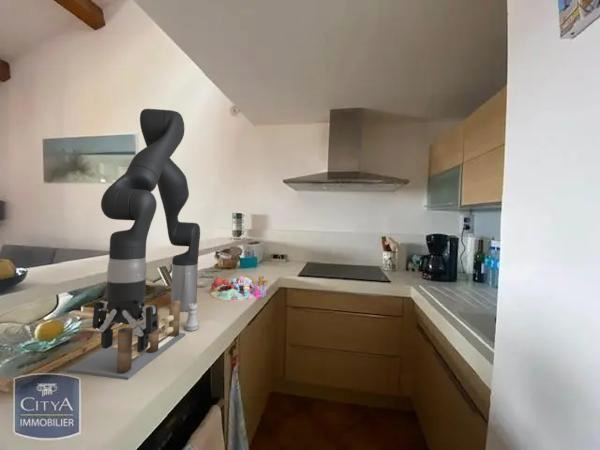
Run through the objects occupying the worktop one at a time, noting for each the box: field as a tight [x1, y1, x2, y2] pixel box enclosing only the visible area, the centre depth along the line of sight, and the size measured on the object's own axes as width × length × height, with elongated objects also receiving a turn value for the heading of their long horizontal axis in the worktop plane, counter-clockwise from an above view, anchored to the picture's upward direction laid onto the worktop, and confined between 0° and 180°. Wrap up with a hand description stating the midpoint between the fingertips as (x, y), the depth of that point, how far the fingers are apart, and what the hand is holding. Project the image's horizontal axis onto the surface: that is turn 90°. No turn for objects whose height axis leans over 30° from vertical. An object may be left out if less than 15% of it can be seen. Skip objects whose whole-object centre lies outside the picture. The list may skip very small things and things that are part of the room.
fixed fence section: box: [146, 300, 181, 353], centre depth 79 cm, size 13×3×10 cm, turn 173°
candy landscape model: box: [209, 274, 269, 302], centre depth 134 cm, size 25×24×9 cm
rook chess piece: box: [184, 303, 200, 332], centre depth 91 cm, size 4×4×8 cm
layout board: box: [66, 330, 186, 380], centre depth 75 cm, size 24×15×1 cm, turn 173°
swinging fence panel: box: [117, 326, 150, 372], centre depth 68 cm, size 10×3×9 cm, turn 173°
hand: (124, 349), depth 64 cm, fingers open, 8 cm apart
